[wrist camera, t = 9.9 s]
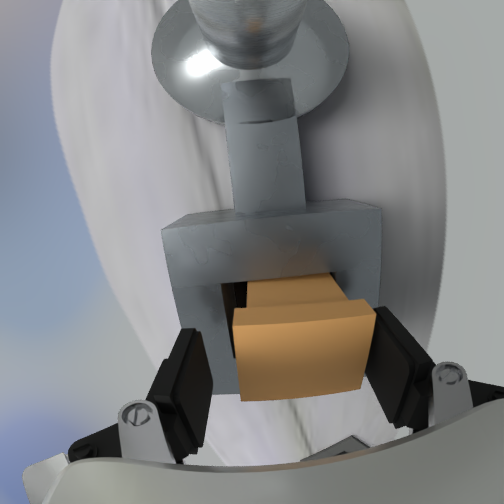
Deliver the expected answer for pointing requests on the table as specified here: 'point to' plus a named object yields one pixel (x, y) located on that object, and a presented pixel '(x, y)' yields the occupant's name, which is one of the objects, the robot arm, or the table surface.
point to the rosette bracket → (258, 161)
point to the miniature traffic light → (339, 449)
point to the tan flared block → (300, 338)
